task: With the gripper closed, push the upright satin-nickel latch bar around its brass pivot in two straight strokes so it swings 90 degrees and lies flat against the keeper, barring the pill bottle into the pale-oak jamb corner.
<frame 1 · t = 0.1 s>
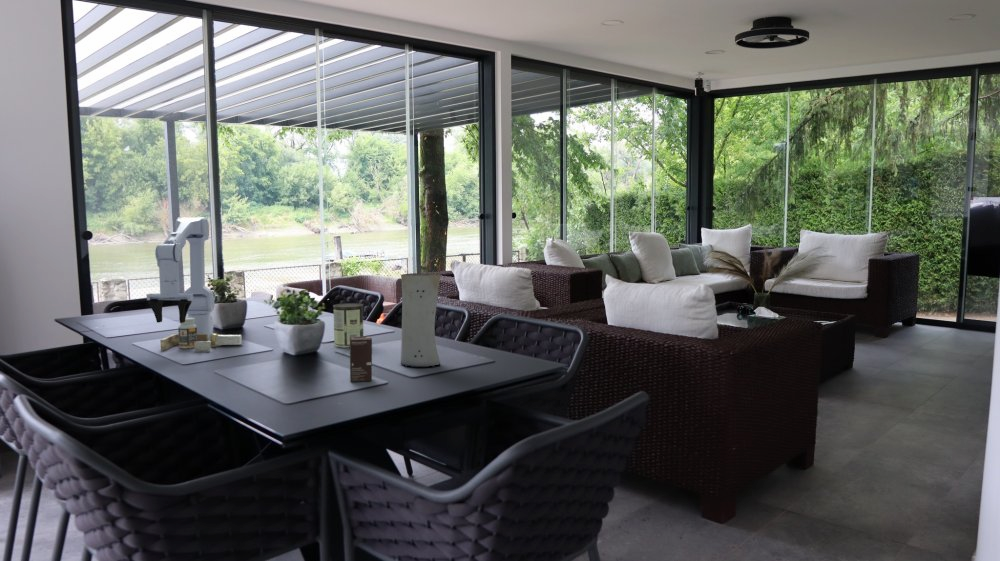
hand: (170, 322, 237), 10 cm above the table, fingers open, 7 cm apart
latch bar: (225, 339, 251), point 2 cm above the table, hinge at 90.0°
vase: (422, 364, 225), on the table
pill bottle: (188, 348, 247), on the table
oak jamb corner: (188, 347, 247), on the table
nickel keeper: (203, 351, 241), on the table
box: (361, 381, 203), on the table
coffee can: (348, 345, 254), on the table
pivot plate: (214, 345, 251), on the table
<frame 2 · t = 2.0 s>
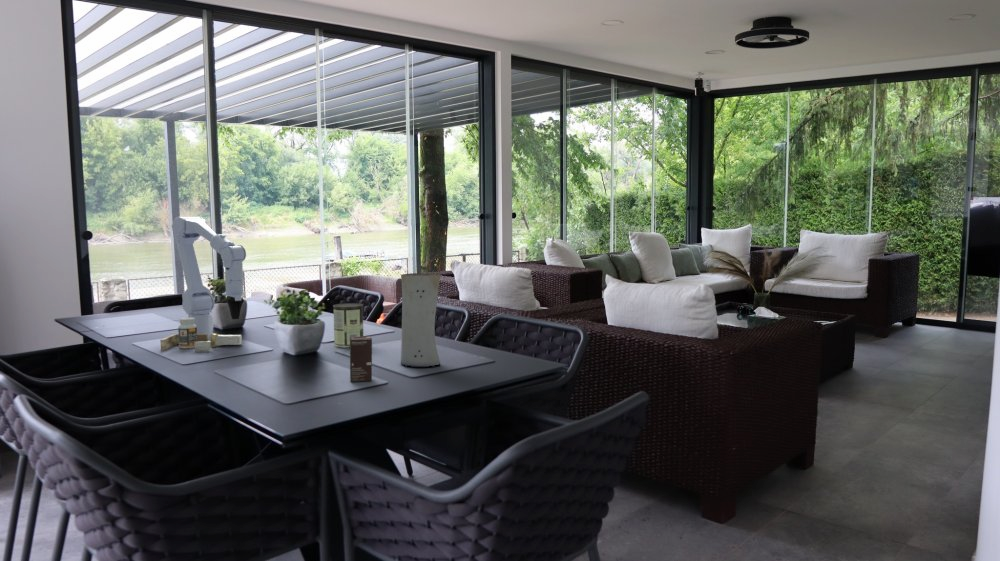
hand: (235, 318, 255), 9 cm above the table, fingers closed
nothing on the table moved.
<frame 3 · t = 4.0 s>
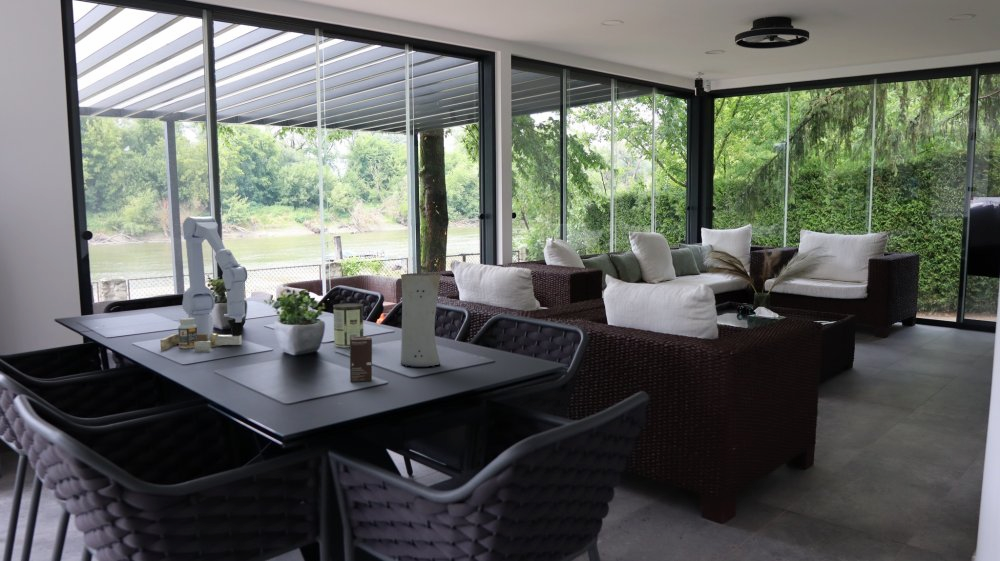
hand: (237, 340, 253), 1 cm above the table, fingers closed, pressing on latch bar
latch bar: (225, 339, 251), point 2 cm above the table, hinge at 88.7°, touching gripper
everything else where it was.
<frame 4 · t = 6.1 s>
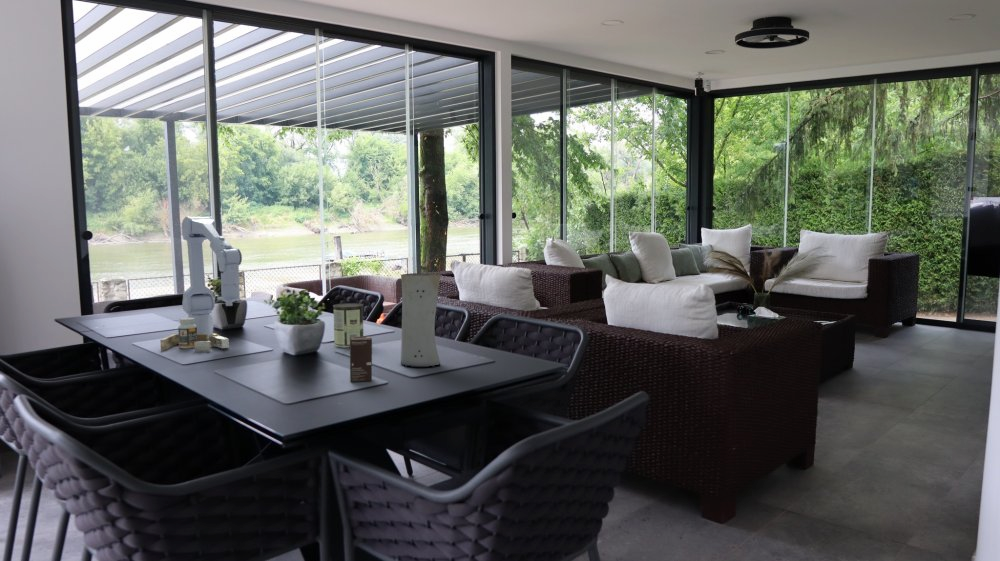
hand: (231, 324, 247), 8 cm above the table, fingers closed
latch bar: (218, 340, 248), point 2 cm above the table, hinge at 41.3°
everything else where it was.
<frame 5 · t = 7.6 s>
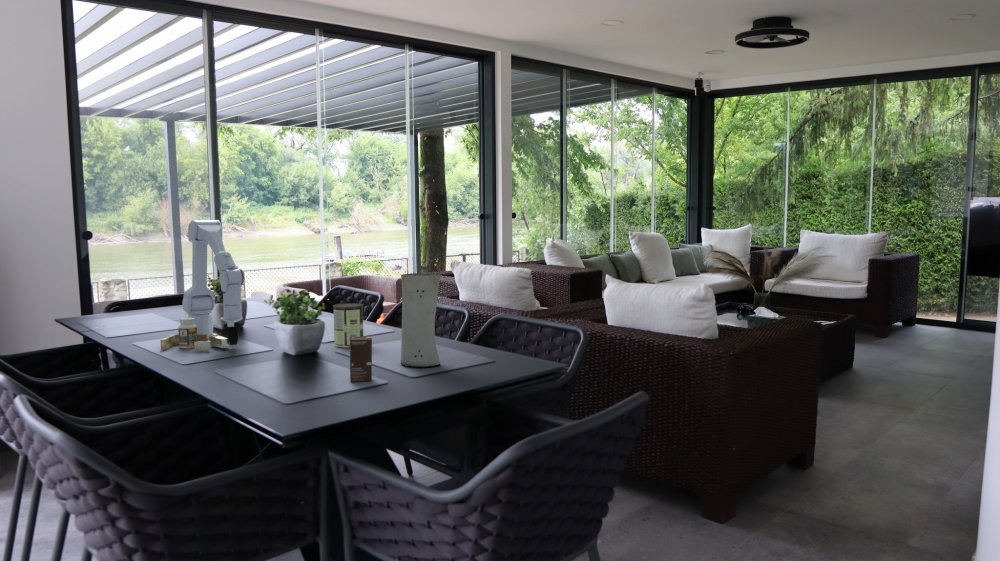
hand: (233, 344, 246), 1 cm above the table, fingers closed, pressing on latch bar
latch bar: (218, 340, 248), point 2 cm above the table, hinge at 41.3°, touching gripper
everything else where it was.
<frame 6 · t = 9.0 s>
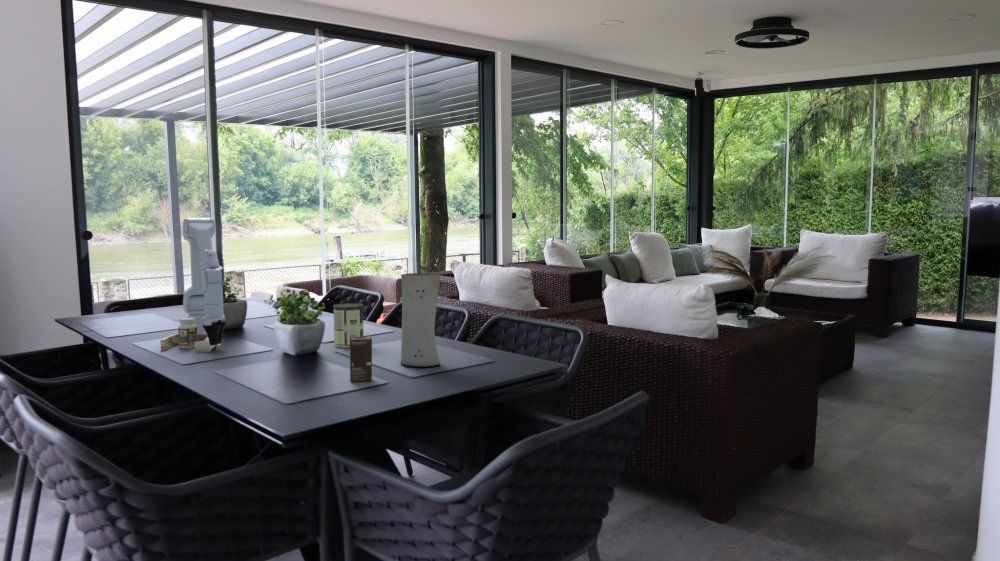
hand: (215, 344, 244), 2 cm above the table, fingers closed on latch bar, 3 cm apart
latch bar: (211, 341, 247), point 2 cm above the table, hinge at 5.1°, touching gripper
everything else where it was.
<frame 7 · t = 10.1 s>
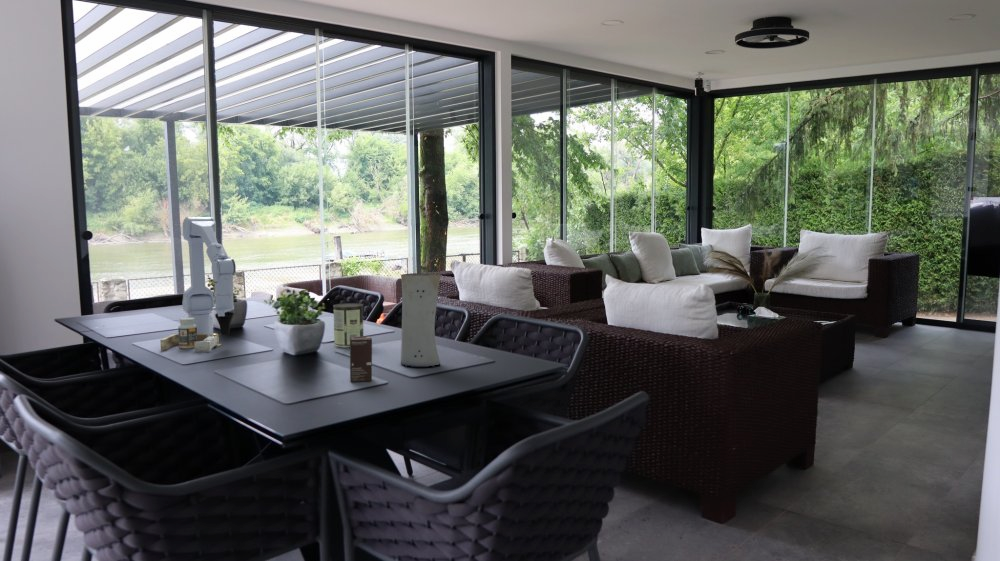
hand: (225, 334, 247), 5 cm above the table, fingers closed
latch bar: (210, 341, 247), point 2 cm above the table, hinge at 3.0°
everything else where it was.
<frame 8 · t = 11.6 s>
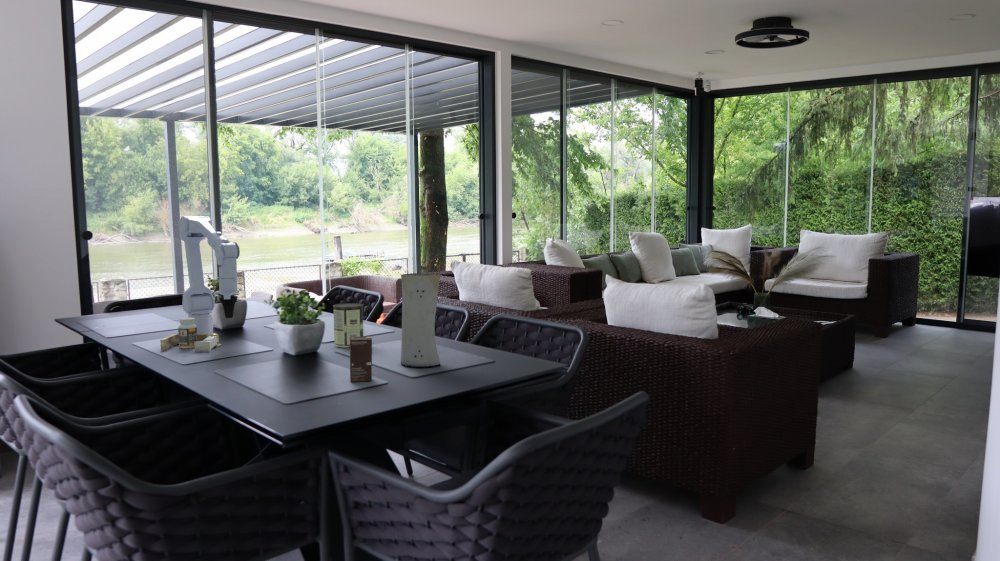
hand: (229, 317, 248), 10 cm above the table, fingers closed
nothing on the table moved.
at the end: latch bar at +3° (first picture: +90°); pill bottle moved 0.2 cm from its start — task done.
